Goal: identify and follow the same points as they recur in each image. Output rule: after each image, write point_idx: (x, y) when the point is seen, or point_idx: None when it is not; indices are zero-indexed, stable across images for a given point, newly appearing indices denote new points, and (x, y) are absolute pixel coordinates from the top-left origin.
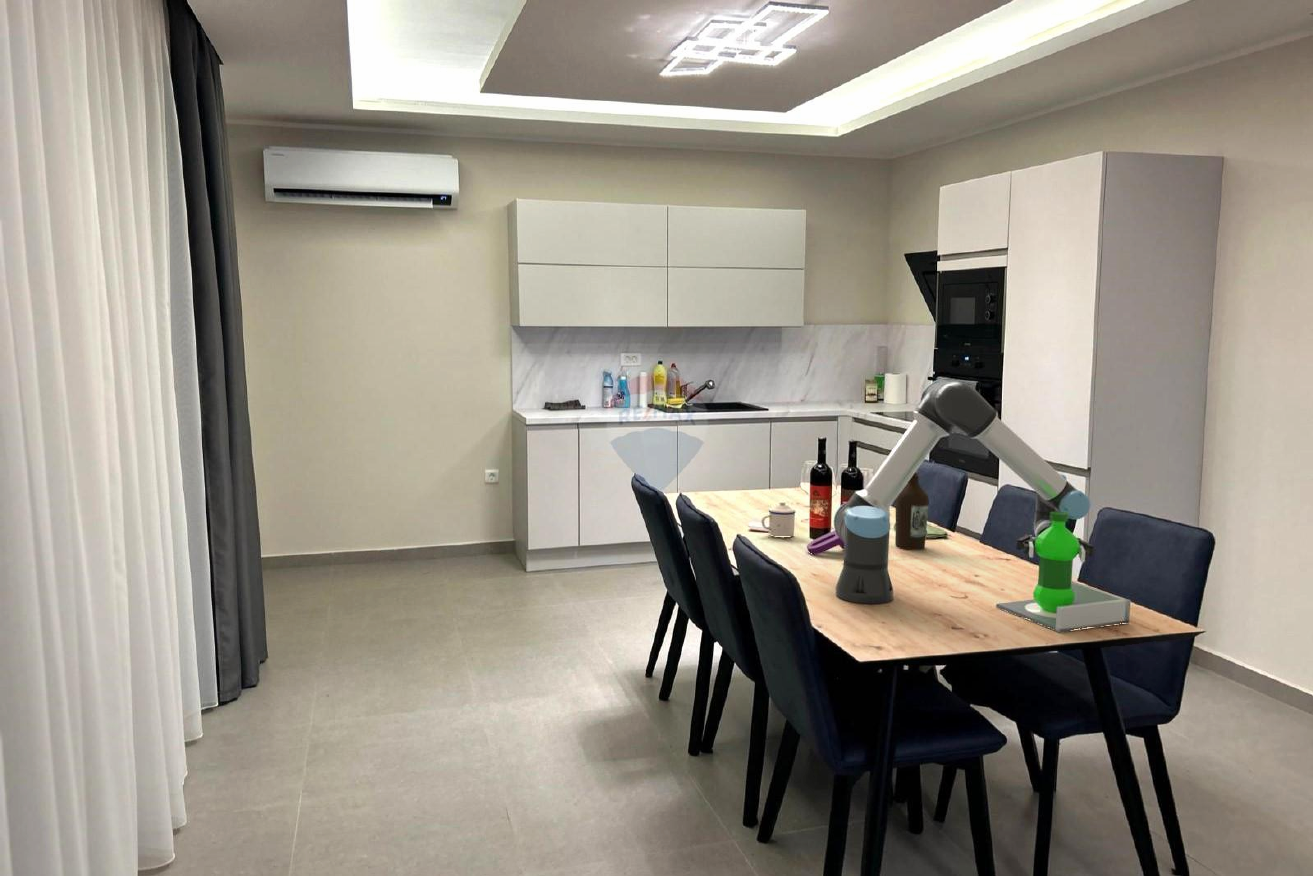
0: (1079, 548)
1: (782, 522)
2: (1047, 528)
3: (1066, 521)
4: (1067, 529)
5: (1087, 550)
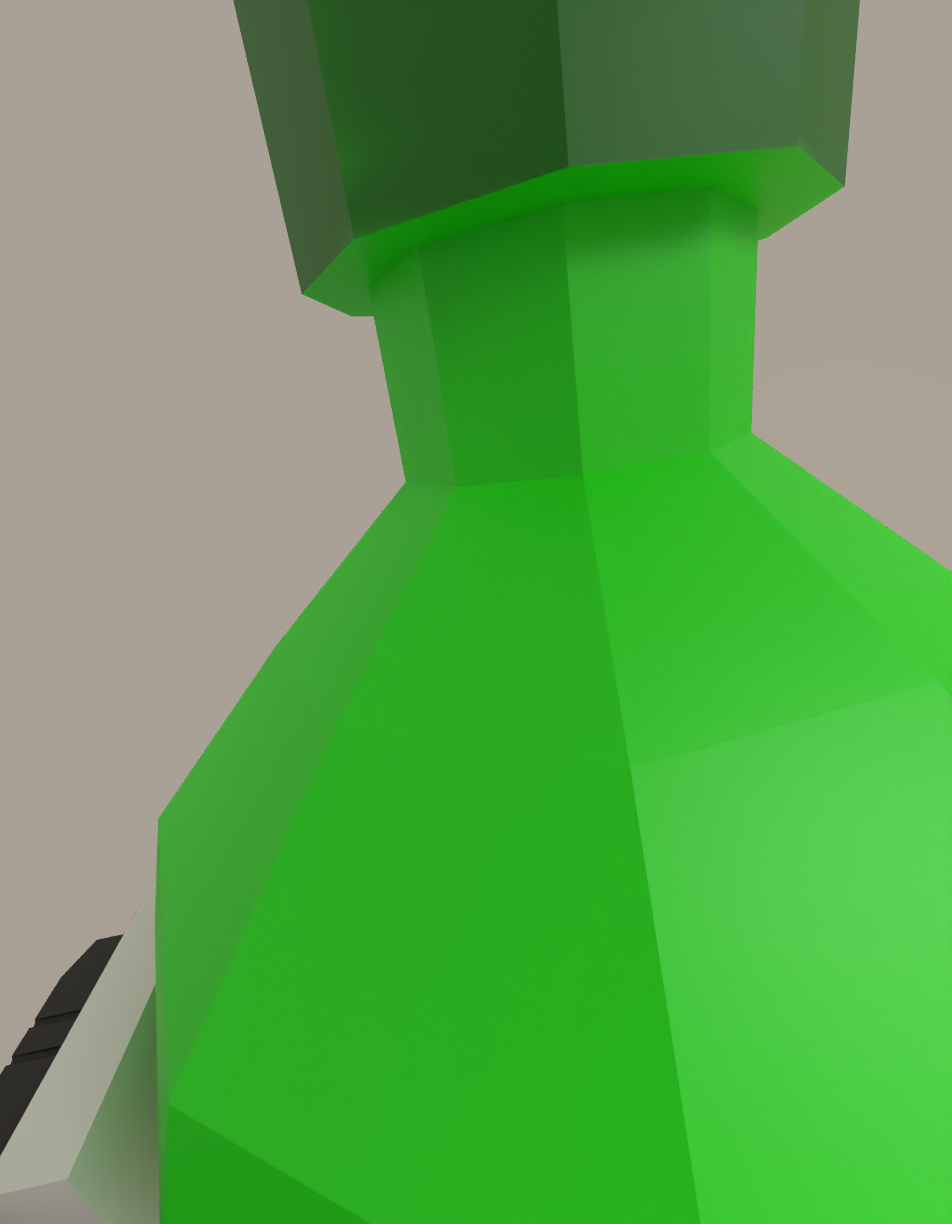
0: (126, 1143)
1: None
2: (884, 528)
3: (365, 312)
4: (361, 542)
5: (44, 1026)
